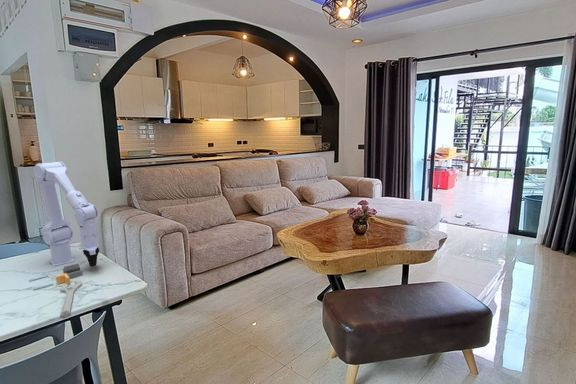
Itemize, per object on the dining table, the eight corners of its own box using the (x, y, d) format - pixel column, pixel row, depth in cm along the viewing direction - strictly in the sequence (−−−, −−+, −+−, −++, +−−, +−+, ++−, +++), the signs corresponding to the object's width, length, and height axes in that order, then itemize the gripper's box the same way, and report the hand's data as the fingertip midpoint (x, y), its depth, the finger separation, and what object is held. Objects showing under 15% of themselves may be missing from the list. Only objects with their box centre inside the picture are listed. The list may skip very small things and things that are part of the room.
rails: (29, 281, 129) (29, 280, 129) (47, 276, 133) (47, 275, 133) (33, 291, 121) (33, 289, 121) (53, 285, 125) (53, 284, 125)
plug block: (65, 274, 135) (63, 266, 134) (79, 271, 138) (78, 263, 137) (66, 279, 131) (65, 270, 130) (81, 275, 134) (80, 267, 133)
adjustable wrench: (70, 318, 105) (69, 313, 104) (45, 323, 102) (44, 317, 102) (83, 283, 127) (82, 279, 127) (63, 287, 125) (62, 282, 124)
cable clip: (63, 273, 136) (62, 268, 135) (77, 269, 139) (76, 264, 139) (68, 279, 130) (67, 274, 129) (82, 275, 133) (82, 270, 133)
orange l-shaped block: (56, 283, 127) (55, 275, 126) (67, 280, 129) (66, 273, 128) (59, 287, 123) (58, 280, 123) (70, 284, 126) (69, 277, 125)
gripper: (76, 232, 140) (80, 262, 143) (79, 241, 128) (83, 274, 131) (95, 229, 144) (99, 258, 147) (99, 237, 132) (103, 269, 135)
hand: (93, 265), depth 139 cm, fingers closed
